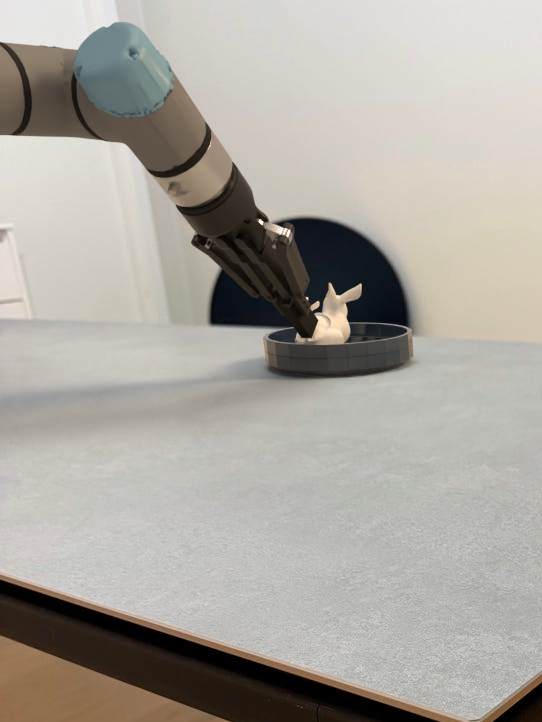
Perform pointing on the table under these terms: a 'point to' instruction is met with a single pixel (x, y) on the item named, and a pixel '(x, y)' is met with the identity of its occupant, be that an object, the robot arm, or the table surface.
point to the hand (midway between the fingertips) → (310, 329)
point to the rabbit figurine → (332, 318)
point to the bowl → (341, 351)
